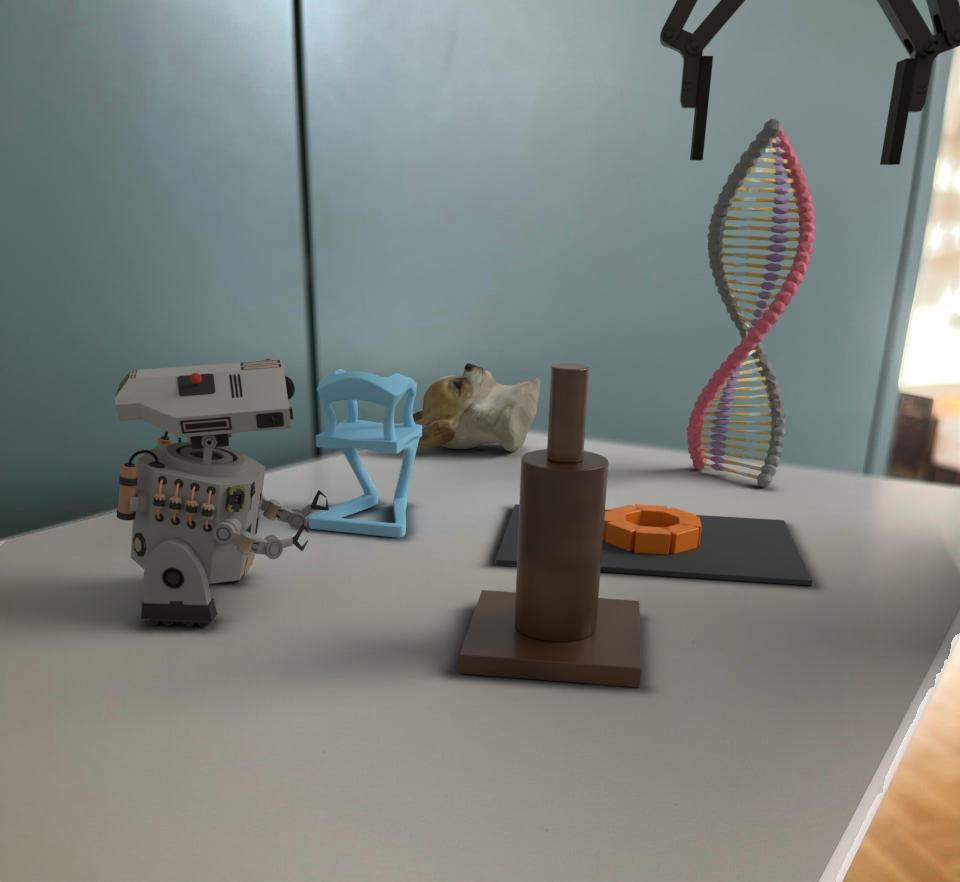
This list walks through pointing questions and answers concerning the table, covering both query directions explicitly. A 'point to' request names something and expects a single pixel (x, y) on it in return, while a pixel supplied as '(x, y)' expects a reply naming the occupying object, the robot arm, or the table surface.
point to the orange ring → (651, 529)
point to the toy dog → (477, 411)
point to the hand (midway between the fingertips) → (791, 163)
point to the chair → (368, 445)
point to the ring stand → (558, 567)
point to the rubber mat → (703, 553)
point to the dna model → (753, 302)
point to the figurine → (201, 481)
